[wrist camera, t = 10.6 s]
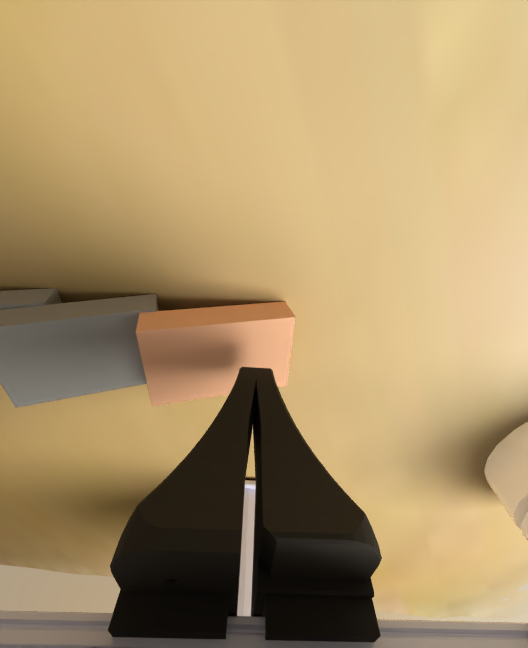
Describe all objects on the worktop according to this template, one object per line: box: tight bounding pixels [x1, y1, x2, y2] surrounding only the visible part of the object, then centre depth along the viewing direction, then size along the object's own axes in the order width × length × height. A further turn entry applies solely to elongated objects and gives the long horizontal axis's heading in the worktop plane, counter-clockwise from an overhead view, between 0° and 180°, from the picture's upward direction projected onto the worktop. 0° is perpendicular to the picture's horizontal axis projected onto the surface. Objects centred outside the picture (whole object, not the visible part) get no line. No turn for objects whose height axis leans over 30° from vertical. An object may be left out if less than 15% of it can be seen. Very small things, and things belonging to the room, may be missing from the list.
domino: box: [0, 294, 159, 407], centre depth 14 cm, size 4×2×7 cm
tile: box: [136, 301, 296, 406], centre depth 14 cm, size 4×2×7 cm
